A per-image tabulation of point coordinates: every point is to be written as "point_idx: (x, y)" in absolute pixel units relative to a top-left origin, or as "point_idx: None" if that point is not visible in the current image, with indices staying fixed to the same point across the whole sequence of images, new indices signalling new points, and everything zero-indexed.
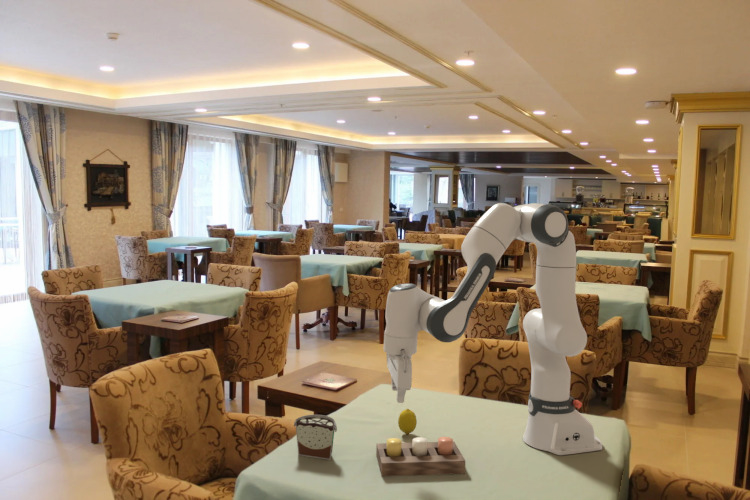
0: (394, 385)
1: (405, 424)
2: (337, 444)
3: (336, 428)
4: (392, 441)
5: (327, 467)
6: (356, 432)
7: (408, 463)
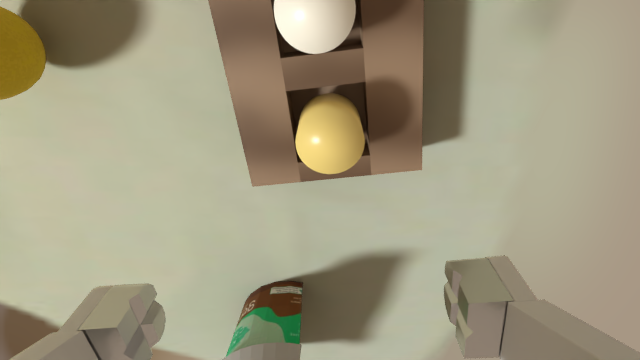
0: (139, 352)
1: (28, 65)
2: (197, 271)
3: (282, 349)
4: (334, 150)
5: (349, 285)
6: (88, 225)
7: (421, 66)
